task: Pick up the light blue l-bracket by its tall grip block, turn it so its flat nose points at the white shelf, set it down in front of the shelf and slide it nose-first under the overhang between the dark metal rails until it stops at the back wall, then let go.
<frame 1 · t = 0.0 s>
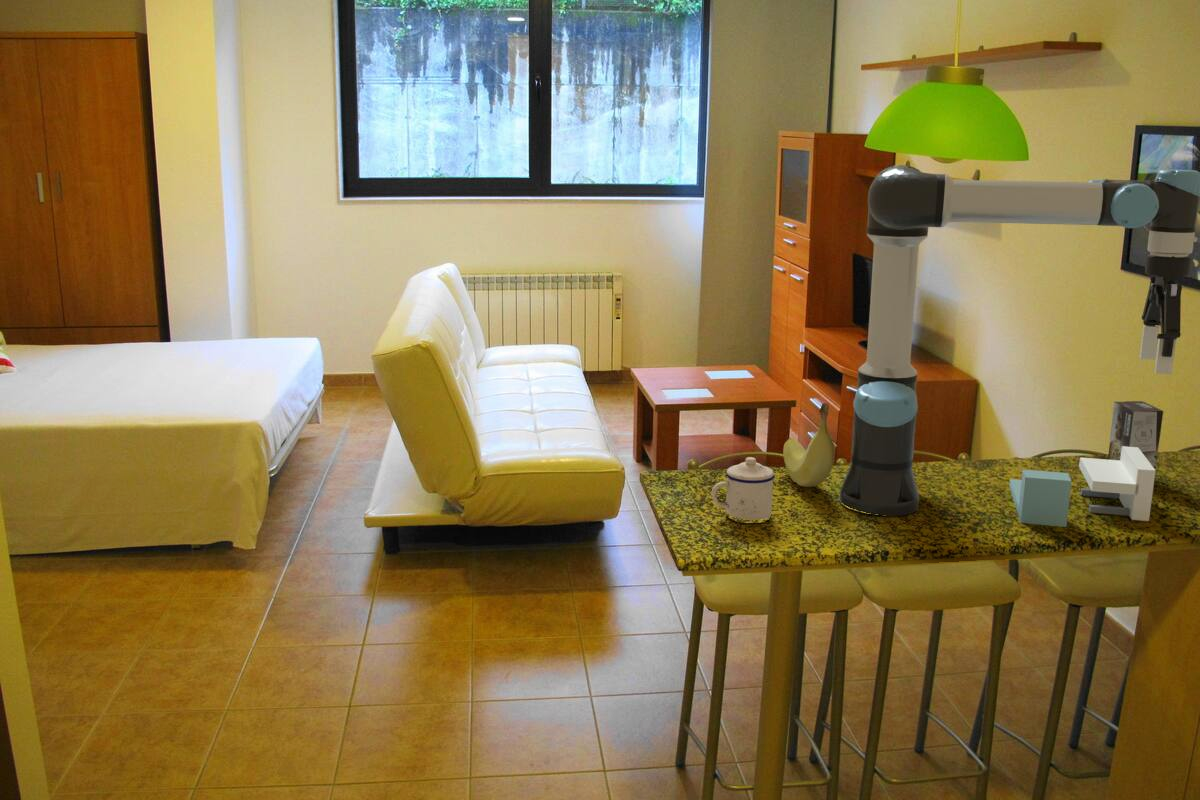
hand: (1154, 366, 208), 28 cm above the breakfast bar, tool pointing down, fingers open, 13 cm apart
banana: (804, 486, 226), on the breakfast bar
teacup with lid: (741, 518, 207), on the breakfast bar
light blue l-bracket: (1041, 520, 206), on the breakfast bar
coffee box: (1129, 480, 231), on the breakfast bar
shelf: (1093, 503, 215), on the breakfast bar
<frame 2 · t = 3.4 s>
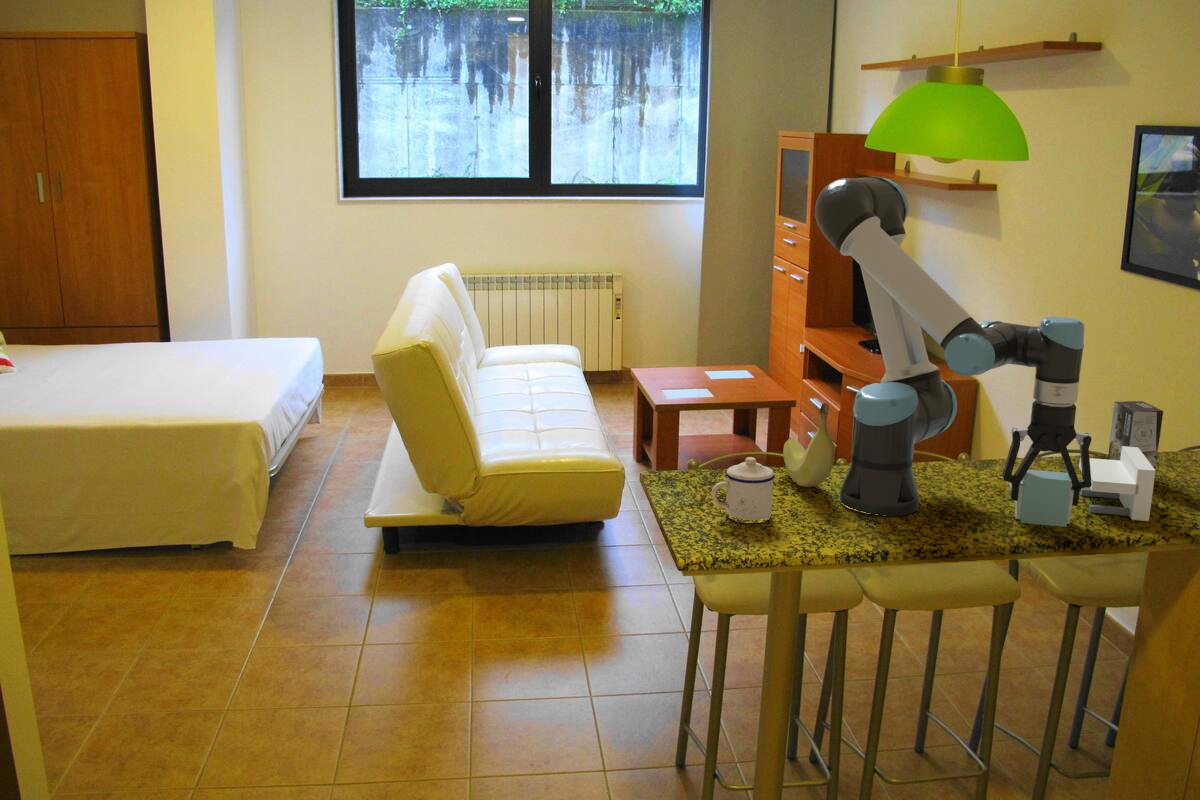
hand: (1042, 518, 206), 0 cm above the breakfast bar, tool pointing down, fingers closed on light blue l-bracket, 8 cm apart
light blue l-bracket: (1041, 520, 206), on the breakfast bar, touching gripper
everything else where it was.
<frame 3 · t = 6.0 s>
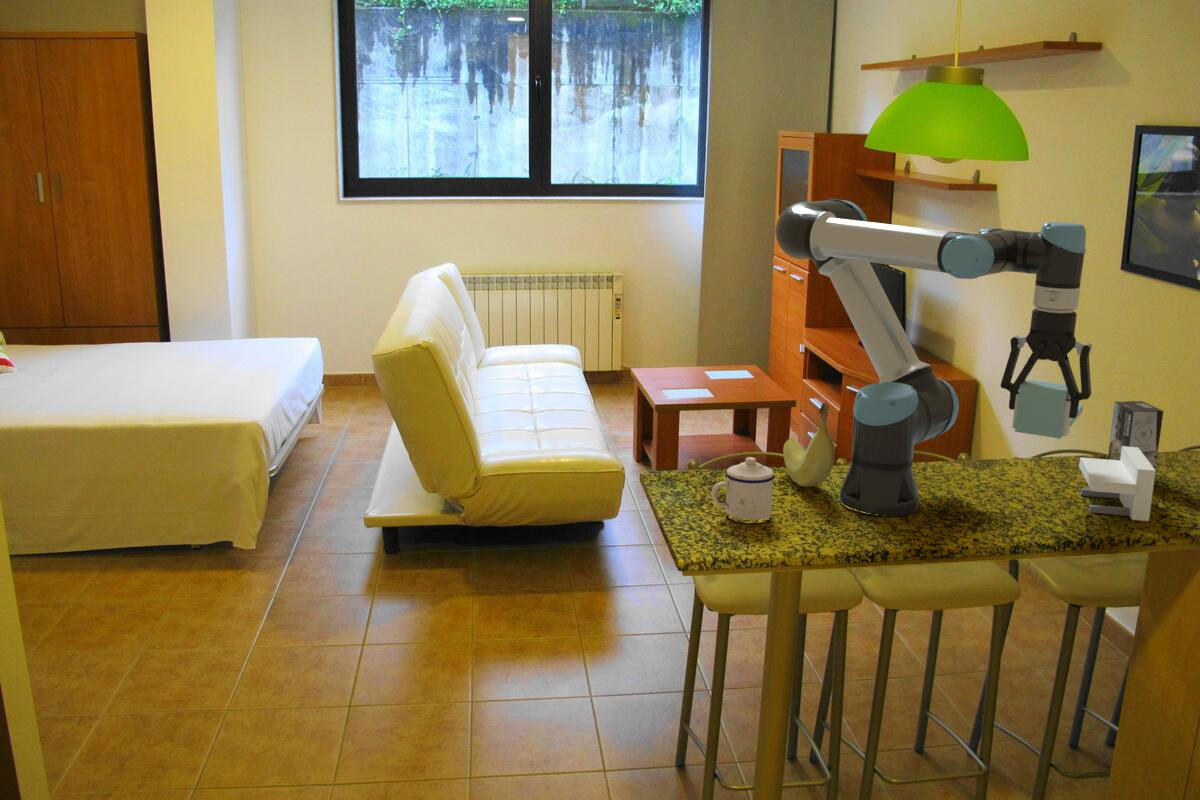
hand: (1040, 430, 202), 17 cm above the breakfast bar, tool pointing down, fingers closed on light blue l-bracket, 8 cm apart
light blue l-bracket: (1040, 432, 203), point 17 cm above the breakfast bar, touching gripper
everything else where it was.
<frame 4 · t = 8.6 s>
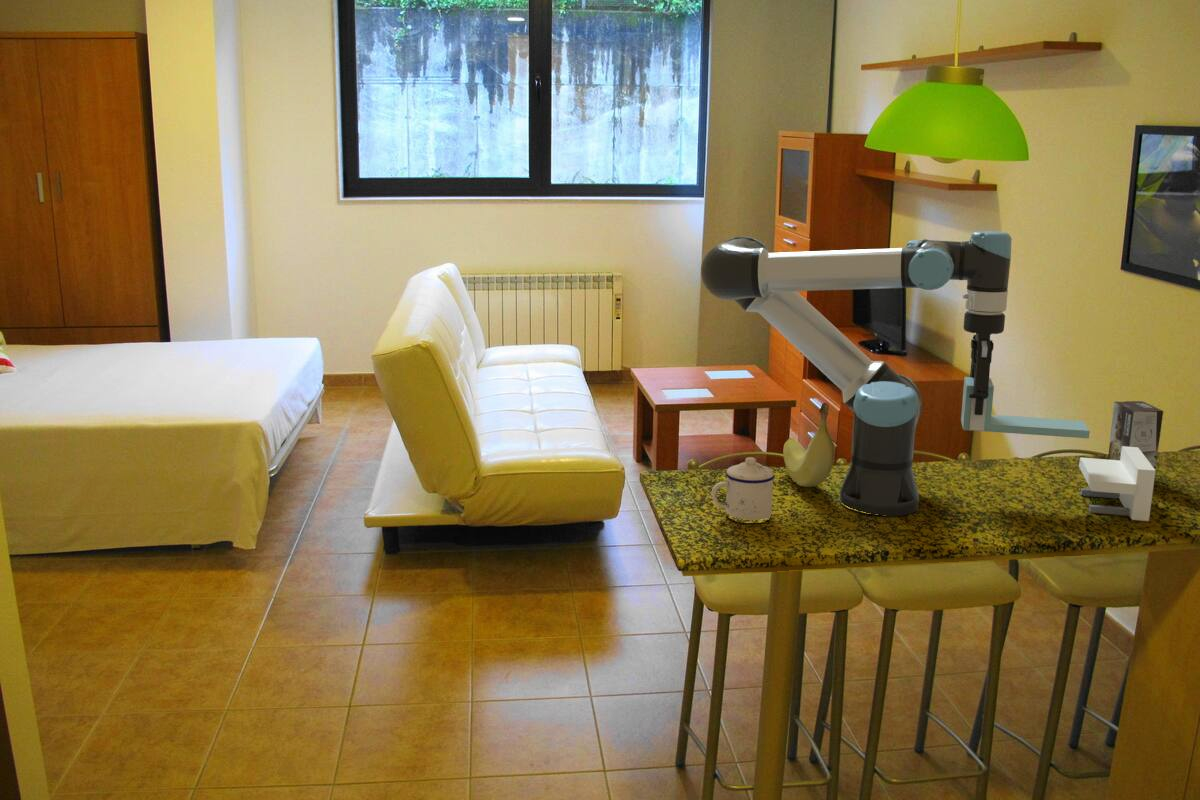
hand: (975, 424, 218), 14 cm above the breakfast bar, tool pointing down, fingers closed on light blue l-bracket, 8 cm apart
light blue l-bracket: (975, 425, 218), point 14 cm above the breakfast bar, touching gripper
everything else where it was.
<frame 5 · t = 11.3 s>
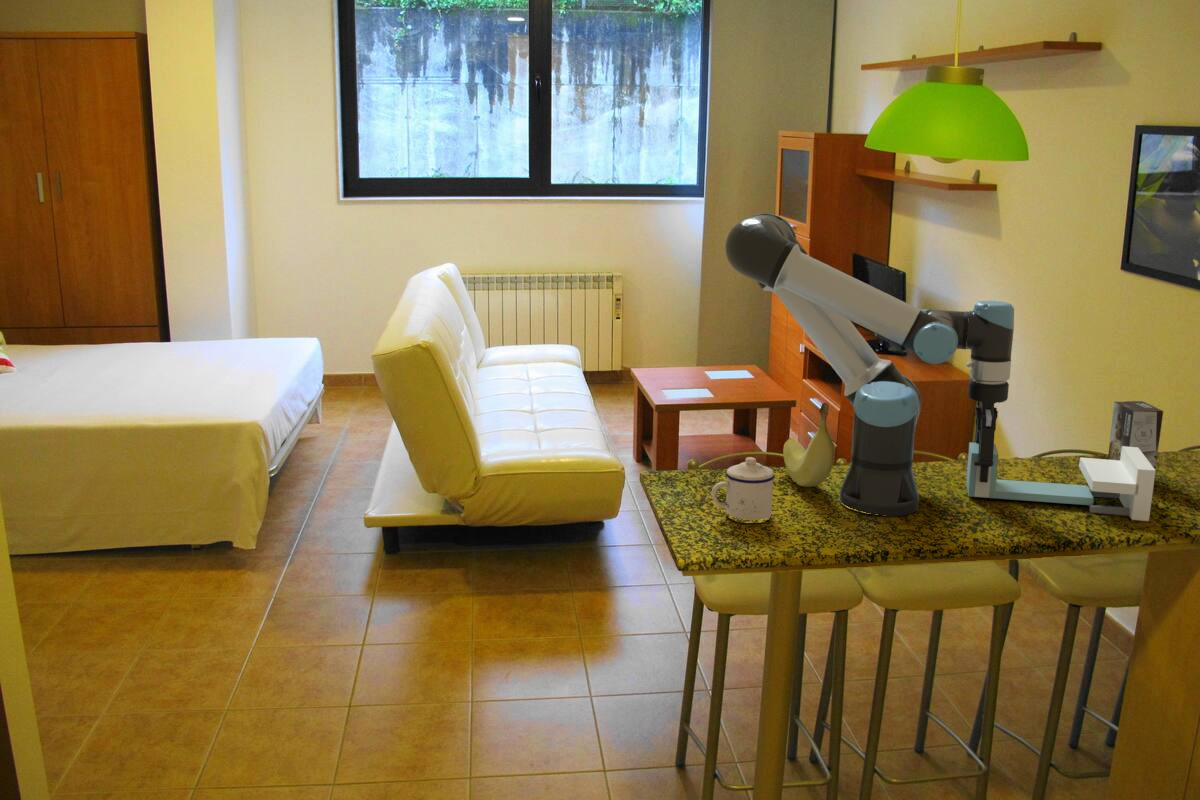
hand: (980, 489, 221), 1 cm above the breakfast bar, tool pointing down, fingers closed on light blue l-bracket, 8 cm apart
light blue l-bracket: (980, 491, 221), point 1 cm above the breakfast bar, touching gripper
everything else where it was.
when the fingers open (1 cm above the breakfast bar, at t = 13.8 s): light blue l-bracket stays where it is, on the breakfast bar.
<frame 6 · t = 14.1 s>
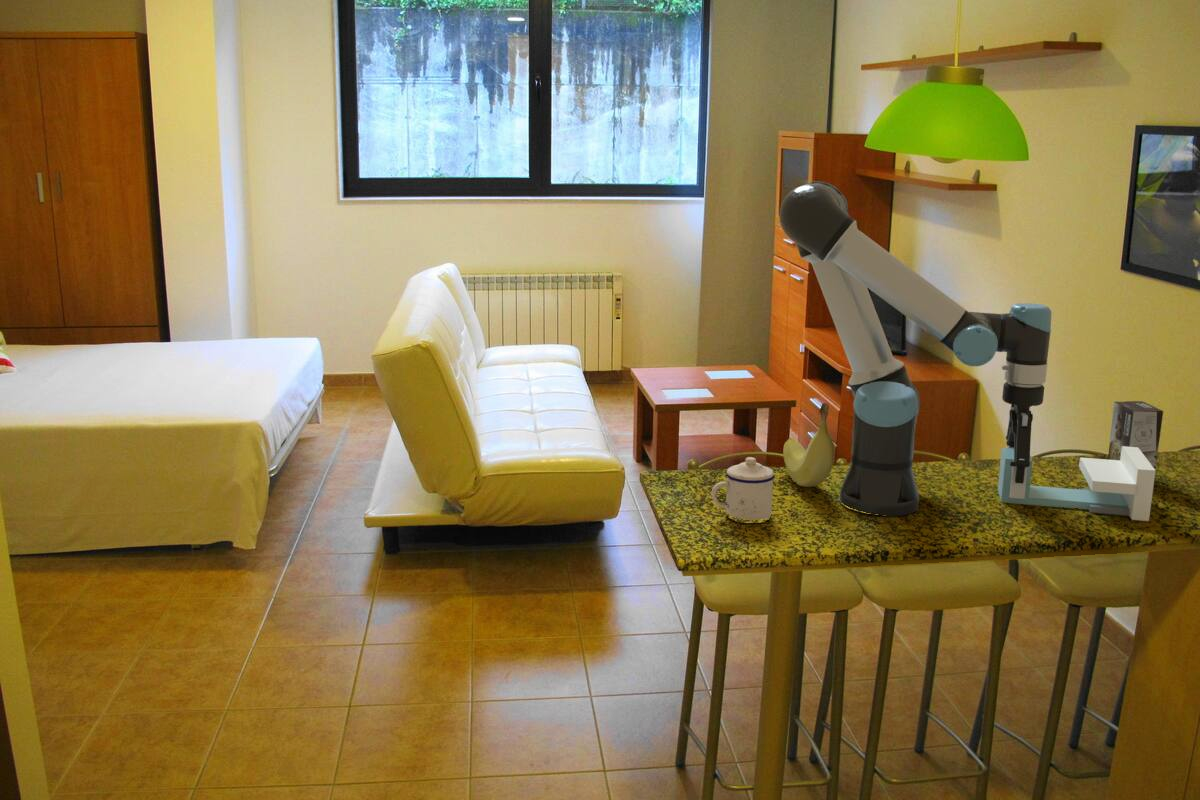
hand: (1013, 487, 219), 2 cm above the breakfast bar, tool pointing down, fingers open, 12 cm apart
light blue l-bracket: (1012, 497, 219), on the breakfast bar
everything else where it was.
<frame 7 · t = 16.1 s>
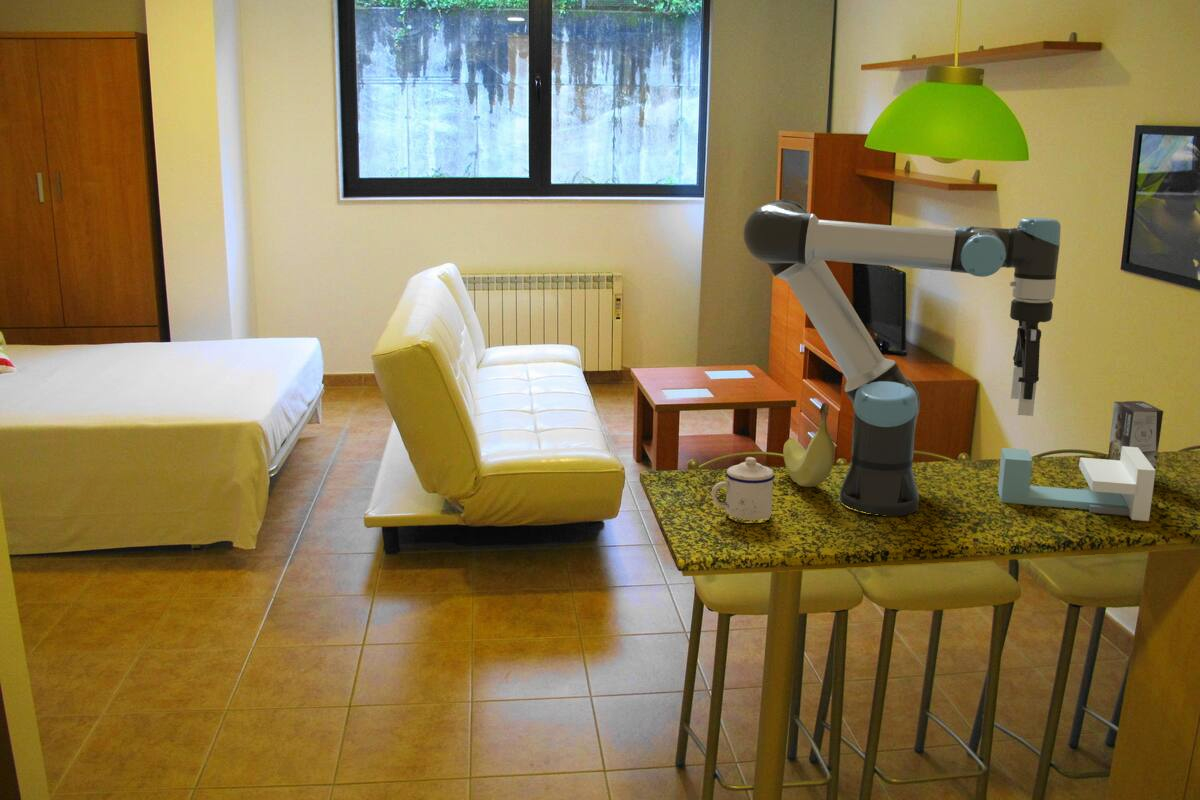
hand: (1021, 406, 215), 19 cm above the breakfast bar, tool pointing down, fingers open, 13 cm apart
nothing on the breakfast bar moved.
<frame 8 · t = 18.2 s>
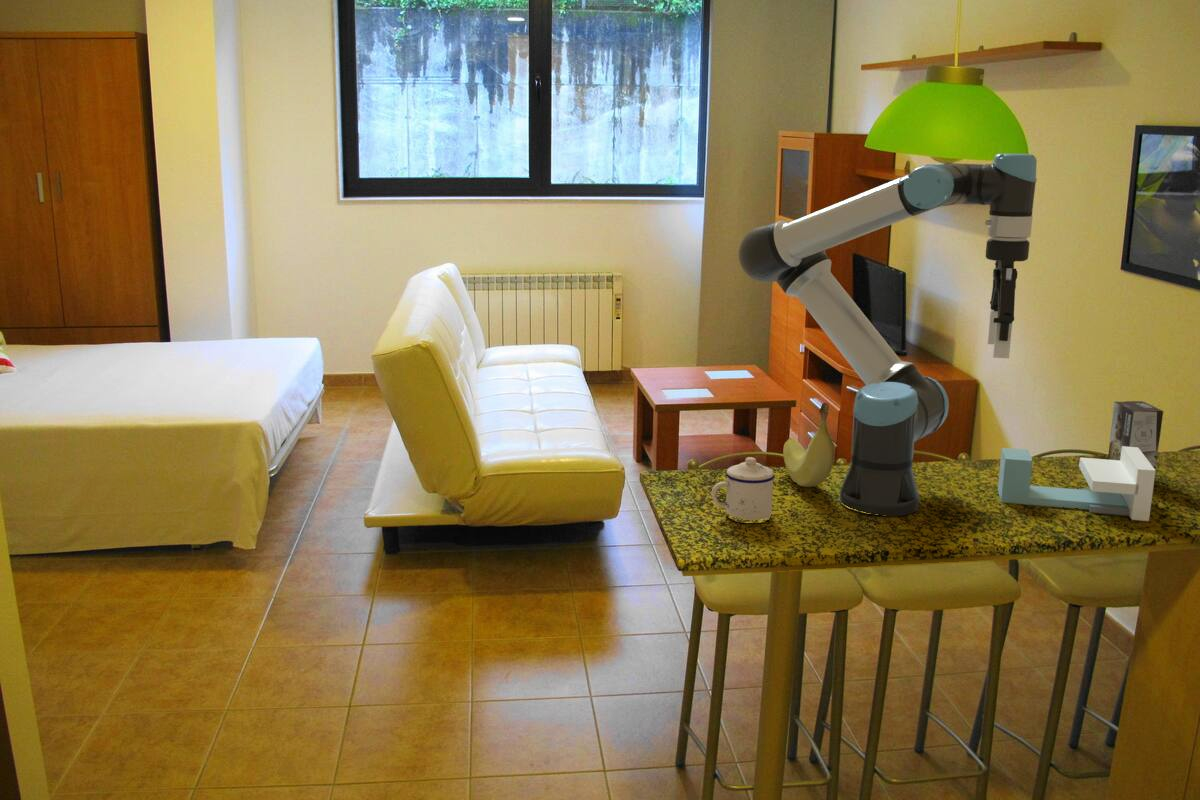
hand: (997, 350, 208), 31 cm above the breakfast bar, tool pointing down, fingers open, 13 cm apart
nothing on the breakfast bar moved.
at the end: light blue l-bracket 0.1 cm from the target spot, on the breakfast bar; light blue l-bracket tilted 0°; the gripper is holding nothing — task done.
